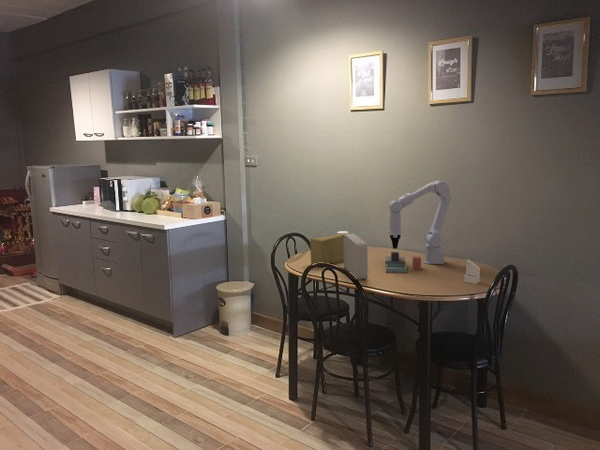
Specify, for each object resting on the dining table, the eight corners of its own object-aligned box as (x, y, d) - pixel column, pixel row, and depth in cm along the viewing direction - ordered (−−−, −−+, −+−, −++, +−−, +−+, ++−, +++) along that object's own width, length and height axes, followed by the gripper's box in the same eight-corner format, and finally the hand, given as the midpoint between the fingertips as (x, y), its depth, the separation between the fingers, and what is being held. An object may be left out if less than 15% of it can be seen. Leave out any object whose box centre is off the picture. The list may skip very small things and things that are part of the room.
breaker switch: (398, 259, 268) (398, 252, 267) (398, 260, 265) (398, 253, 264) (391, 259, 268) (391, 251, 268) (391, 260, 266) (391, 253, 265)
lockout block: (420, 267, 263) (420, 256, 262) (420, 269, 259) (420, 258, 258) (412, 267, 264) (412, 256, 263) (412, 269, 260) (412, 257, 259)
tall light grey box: (372, 280, 242) (372, 243, 239) (356, 281, 241) (356, 244, 238) (357, 265, 270) (357, 232, 267) (343, 266, 269) (343, 233, 266)
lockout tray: (405, 267, 263) (405, 263, 263) (406, 272, 253) (406, 268, 253) (386, 267, 265) (386, 263, 264) (385, 272, 255) (385, 268, 254)
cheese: (340, 258, 288) (340, 232, 286) (352, 261, 280) (352, 234, 278) (310, 264, 275) (309, 237, 273) (321, 267, 268) (320, 240, 265)
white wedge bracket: (459, 273, 241) (468, 259, 236) (476, 286, 236) (485, 272, 231) (455, 274, 238) (464, 260, 234) (472, 288, 233) (482, 274, 229)
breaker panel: (404, 262, 275) (404, 255, 274) (404, 267, 264) (404, 260, 263) (385, 261, 276) (385, 255, 276) (385, 266, 266) (385, 260, 265)
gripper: (387, 221, 276) (387, 245, 278) (387, 225, 262) (387, 251, 264) (400, 221, 275) (400, 245, 277) (401, 225, 261) (401, 251, 263)
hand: (395, 248), depth 271 cm, fingers closed
